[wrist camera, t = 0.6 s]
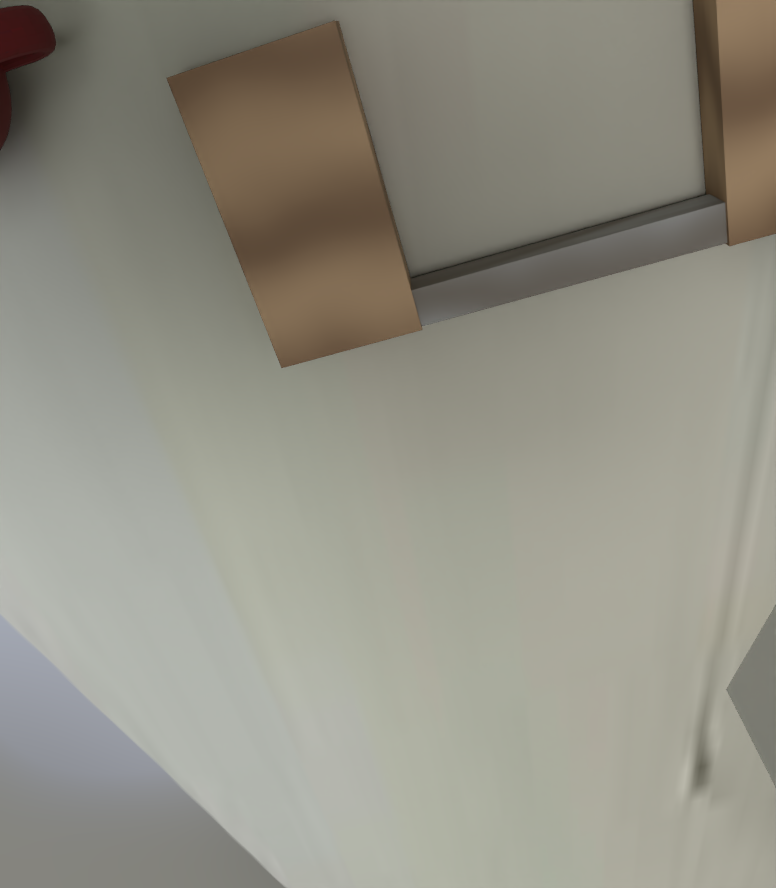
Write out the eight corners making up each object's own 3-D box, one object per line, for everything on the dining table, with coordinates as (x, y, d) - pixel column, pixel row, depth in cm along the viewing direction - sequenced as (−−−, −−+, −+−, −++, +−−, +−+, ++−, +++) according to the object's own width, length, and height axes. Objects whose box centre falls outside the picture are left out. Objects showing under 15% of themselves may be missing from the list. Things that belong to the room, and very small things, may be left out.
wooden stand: (181, 74, 31) (39, 108, 18) (879, -164, 27) (1309, -329, 14) (288, 352, 37) (237, 518, 25) (865, 193, 33) (1154, 295, 21)
